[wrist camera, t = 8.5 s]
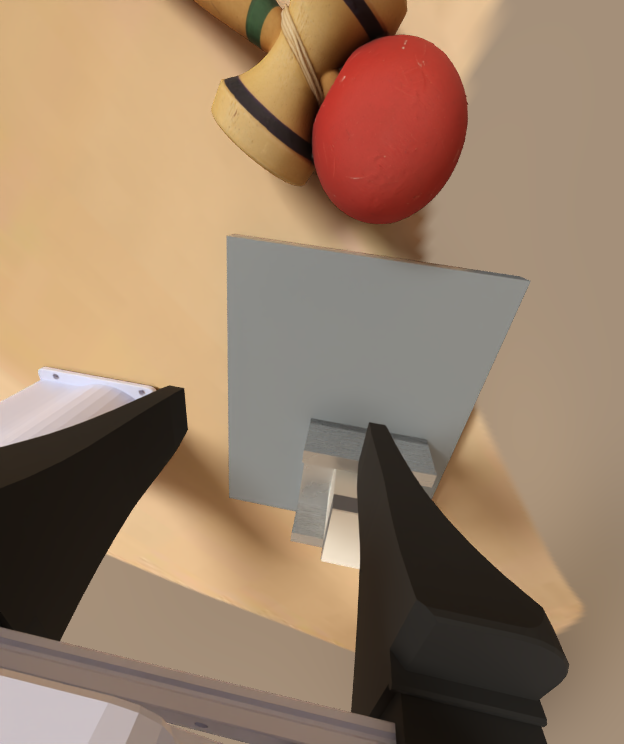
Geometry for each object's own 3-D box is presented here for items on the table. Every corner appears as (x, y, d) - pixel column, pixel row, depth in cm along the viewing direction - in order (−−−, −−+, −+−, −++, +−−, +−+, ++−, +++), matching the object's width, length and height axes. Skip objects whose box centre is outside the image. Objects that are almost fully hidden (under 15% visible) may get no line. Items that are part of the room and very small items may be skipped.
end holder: (298, 503, 26) (290, 540, 23) (311, 418, 22) (303, 450, 19) (393, 523, 26) (398, 563, 23) (426, 439, 21) (436, 476, 18)
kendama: (102, 33, 16) (368, 274, 17) (-58, -130, 10) (376, 265, 11) (183, -148, 14) (481, 143, 15) (44, -502, 7) (570, 39, 9)
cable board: (234, 486, 28) (229, 497, 27) (234, 234, 18) (226, 235, 17) (412, 522, 27) (415, 535, 26) (520, 276, 17) (530, 281, 16)
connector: (327, 497, 24) (320, 561, 20) (337, 449, 22) (332, 509, 18) (372, 506, 24) (375, 572, 20) (388, 458, 22) (395, 522, 17)
